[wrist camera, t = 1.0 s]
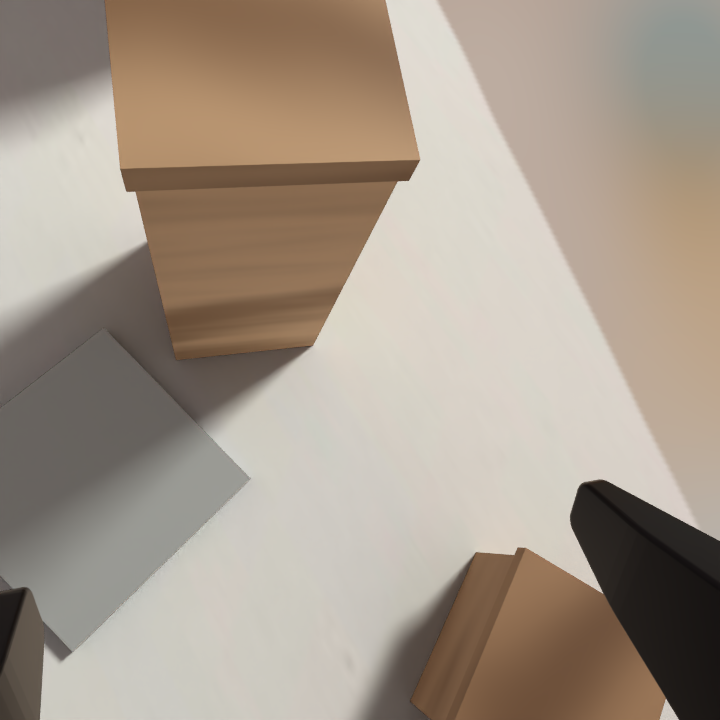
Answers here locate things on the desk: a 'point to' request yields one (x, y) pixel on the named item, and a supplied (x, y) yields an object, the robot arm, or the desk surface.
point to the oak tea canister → (256, 157)
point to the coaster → (100, 485)
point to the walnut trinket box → (533, 650)
